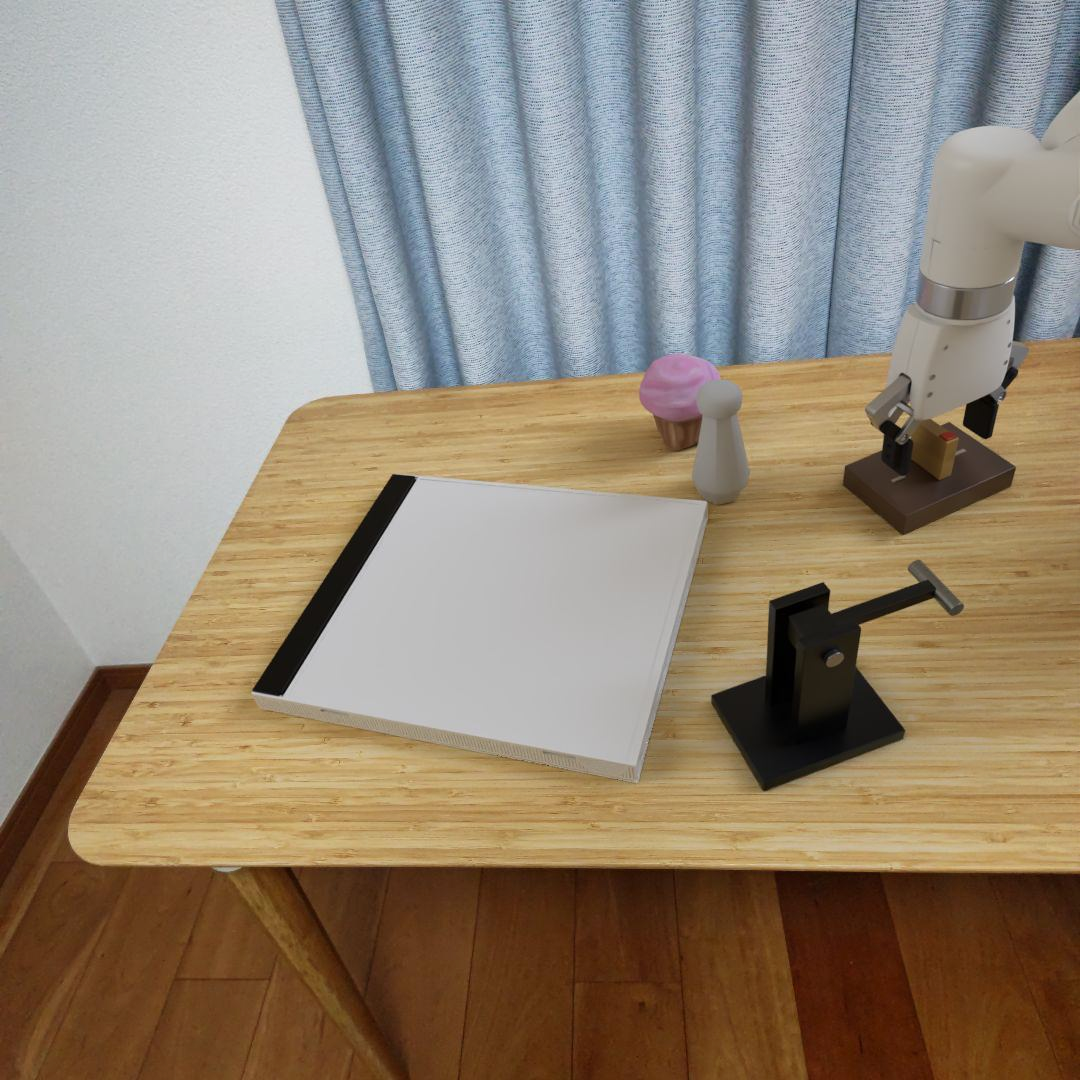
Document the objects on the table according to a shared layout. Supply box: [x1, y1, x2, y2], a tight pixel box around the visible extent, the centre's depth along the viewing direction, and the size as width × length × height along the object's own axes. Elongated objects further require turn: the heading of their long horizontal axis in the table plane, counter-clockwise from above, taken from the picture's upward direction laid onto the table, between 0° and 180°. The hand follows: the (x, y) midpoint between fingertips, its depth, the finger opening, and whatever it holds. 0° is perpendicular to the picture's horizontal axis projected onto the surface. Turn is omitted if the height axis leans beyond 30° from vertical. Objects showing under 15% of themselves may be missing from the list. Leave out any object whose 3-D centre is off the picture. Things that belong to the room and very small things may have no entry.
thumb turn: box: [910, 418, 959, 480], centre depth 87 cm, size 4×1×5 cm, turn 24°
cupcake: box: [638, 352, 722, 451], centre depth 98 cm, size 9×9×10 cm
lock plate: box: [842, 421, 1017, 536], centre depth 89 cm, size 13×9×3 cm
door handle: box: [787, 559, 965, 650], centre depth 65 cm, size 12×5×2 cm, turn 108°
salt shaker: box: [691, 378, 751, 506], centre depth 89 cm, size 6×6×13 cm
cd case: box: [250, 473, 709, 784], centre depth 85 cm, size 35×2×31 cm
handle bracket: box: [710, 581, 906, 792], centre depth 68 cm, size 12×9×13 cm
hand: (936, 449), depth 87 cm, fingers open, 9 cm apart
